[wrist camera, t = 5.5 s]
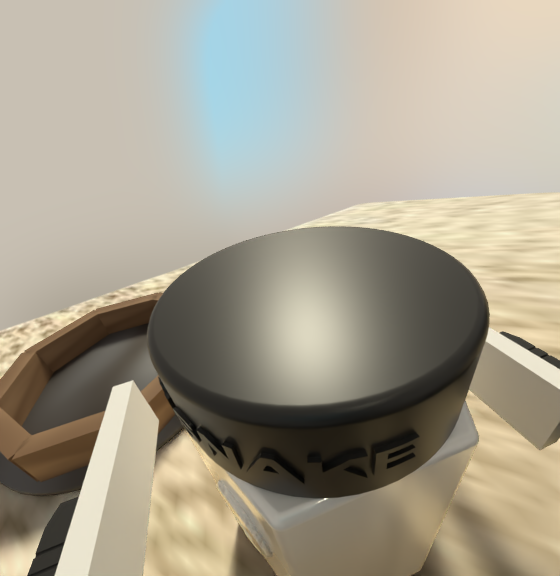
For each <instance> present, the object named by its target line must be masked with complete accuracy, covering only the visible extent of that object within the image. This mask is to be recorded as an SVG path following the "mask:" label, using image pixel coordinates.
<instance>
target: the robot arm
mask: <svg viewBox="0 0 560 576" xmlns="http://www.w3.org/2000/svg"><path fill="white" fill-rule="evenodd" d="M469 390H470V391H471V392H473V393H474V394H475V395H476V396H477V397H478V398H479V399H481V400H482V401H483V402H484V403H485V404H486V405H488V406H489V407H490V408H491V409H492V410H493V411H495V412H496V413H497V414H498V415H499V416H500V417H501V418H503V419H504V420H505V421H506V422H507V423H508V424H510V425H511V426H512V427H513V428H514V429H515V430H517V431H518V432H519V433H520V434H521V435H522V436H524V437H525V438H526V439H527V440H528V441H529V442H530V443H532V444H533V445H534V446H535V447H536V448H537V449H539V450H541V449H543V448H545V447H547V446H549V445H551V444H553V443H555V442H557V440H558V439H559V438H560V360H558V359H556V358H555V357H553V356H549V355H548V353H546V352H544V351H542V350H541V349H539V348H535V346H534V345H532V344H530V343H528V342H527V341H525V340H523V339H521V338H520V337H517V336H514V335H511V334H509V333H506V332H500V333H498V332H496V331H495V330H493V329H491V328H490V327H489V330H488V335H487V338H486V341H485V344H484V347H483V350H482V353H481V356H480V359H479V361H478V364H477V367H476V370H475V373H474V376H473V379H472V381H471V384H470V387H469ZM158 425H159V420H158V418H157V417H156V415H155V413H154V412H153V410H152V409H151V407H150V406H149V404H148V403H147V401H146V400H145V398H144V396H143V395H142V393H141V392H140V390H139V389H138V387H137V386H136V384H135V382H134V381H133V380H132V381H129V382H126V383H123V384H120V385H117V386H114V387H113V388H112V391H111V395H110V398H109V401H108V404H107V408H106V411H105V414H104V417H103V421H102V424H101V427H100V430H99V434H98V437H97V440H96V443H95V447H94V450H93V453H92V456H91V459H90V463H89V466H88V469H87V472H86V476H85V479H84V482H83V485H82V489H81V492H80V495H79V497H77V498H74V499H72V500H69V501H66V502H64V503H61V504H60V506H59V507H58V509H57V510H56V512H55V513H54V515H53V516H52V518H51V520H50V521H49V523H48V524H47V526H46V527H45V530H44V532H43V535H42V538H41V540H40V543H39V546H38V548H37V551H36V558H35V559H33V562H32V565H31V567H30V570H29V573H28V575H27V576H143V571H144V561H145V551H146V542H147V532H148V522H149V513H150V503H151V493H152V483H153V474H154V464H155V454H156V444H157V435H158Z"/></svg>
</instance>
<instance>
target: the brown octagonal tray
mask: <svg viewBox="0 0 560 576" xmlns="http://www.w3.org/2000/svg"><path fill="white" fill-rule="evenodd" d="M162 294H163V293H155V294H151V295H147V296H143V297H140V298H136V299H132V300H128V301H124V302H121V303H117V304H113V305H109V306H106V307H102V308H98V309H96V311H95V310H93V311H91V312H90V313H88V314H86V315H85V316H83V317H81V318H80V319H78V320H76V321H74V322H73V323H71V324H69V325H68V326H66V327H64V328H63V329H61V330H59V331H57V332H56V333H54V334H52V335H51V336H49V337H47V338H46V339H44V340H42V341H40V342H39V343H37V344H35V345H34V346H32V347H30V348H29V349H27V350H25V352H24V353H21V354H20V356H19V357H18V358H17V359H16V361H15V362H14V363H13V364H12V366H11V367H10V368H9V369H8V371H7V372H6V373H5V374H4V376H3V377H2V378H1V379H0V482H1V483H2V484H3V485H5V486H6V487H8V488H10V489H12V490H14V491H17V492H19V493H22V494H29V495H35V496H40V495H57V494H62V493H67V492H72V491H76V490H79V489H82V485H83V482H84V479H85V476H86V472H87V469H88V466H89V463H90V459H91V456H92V453H93V450H94V447H95V443H96V440H97V437H98V434H99V430H100V427H101V424H102V421H103V417H104V414H105V411H106V408H107V404H108V401H109V398H110V395H111V391H112V388H113V387H114V386H117V385H120V384H123V383H126V382H129V381H132V380H133V381H134V382H135V384H136V386H137V387H138V389H139V390H140V392H141V393H142V395H143V396H144V398H145V400H146V401H147V403H148V404H149V406H150V407H151V409H152V410H153V412H154V413H155V415H156V417H157V418H158V420H159V425H158V435H157V444H156V451H157V450H158V449H159V448H160V447H162V446H163V445H164V444H165V443H167V442H168V441H169V440H170V439H172V438H173V437H174V436H175V435H176V434H177V433H178V432H179V431H180V430H181V429H182V428H183V425H182V424H181V422H180V420H179V419H178V417H177V416H176V414H175V412H174V411H173V409H172V407H171V405H170V404H169V402H168V400H167V398H166V397H165V395H164V394H165V393H164V391H163V389H162V387H161V385H160V382H159V379H158V377H159V375H158V373H157V372H156V370H155V368H154V366H153V364H152V361H151V359H150V355H149V351H148V347H147V330H148V324H149V321H150V317H151V314H152V312H153V309H154V307H155V305H156V303H157V302H158V300H159V298H160V297H161V296H162Z"/></svg>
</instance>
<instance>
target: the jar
mask: <svg viewBox="0 0 560 576" xmlns="http://www.w3.org/2000/svg"><path fill="white" fill-rule="evenodd" d="M489 315H490V314H489V307H488V302H487V299H486V296H485V293H484V291H483V289H482V288H481V286H480V284H479V282H478V281H477V279H476V278H475V277H474V276H473V274H472V273H471V272H470V271H469V270H468V269H467V268H466V267H465V266H464V265H463V264H462V263H461V262H459V261H458V260H457V259H455V258H454V257H452V256H451V255H449V254H448V253H446V252H444V251H443V250H441V249H439V248H437V247H435V246H433V245H431V244H428V243H426V242H424V241H421V240H418V239H415V238H412V237H409V236H406V235H402V234H398V233H394V232H389V231H384V230H377V229H370V228H360V227H313V228H302V229H295V230H288V231H282V232H277V233H273V234H268V235H264V236H260V237H256V238H253V239H250V240H246V241H244V242H241V243H238V244H235V245H233V246H230V247H228V248H225V249H223V250H221V251H219V252H216V253H214V254H212V255H211V256H209V257H207V258H205V259H203V260H202V261H200V262H198V263H197V264H195V265H194V266H192V267H191V268H189V269H188V270H187V271H185V272H184V273H183V274H182V275H180V276H179V277H178V278H177V279H176V280H175V281H174V282H173V283H172V284H171V285H170V286H169V287H168V288H167V289H166V290H165V292H164V293H163V294H162V296H161V297H160V298H159V300H158V302H157V303H156V305H155V307H154V309H153V312H152V314H151V317H150V321H149V324H148V330H147V347H148V351H149V355H150V359H151V361H152V364H153V366H154V368H155V370H156V372H157V373H158V375H159V377H158V379H159V382H160V385H161V387H162V389H163V391H164V393H165V394H164V395H165V397H166V398H167V400H168V402H169V404H170V405H171V407H172V409H173V411H174V412H175V414H176V416H177V417H178V419H179V420H180V422H181V424H182V425H183V427H184V428H185V430H186V432H187V434H188V435H189V437H190V439H191V441H192V442H193V444H194V446H195V447H196V449H197V451H198V453H199V454H200V456H201V458H202V460H203V461H204V463H205V465H206V467H207V468H208V470H209V472H210V474H211V475H212V477H213V479H214V481H215V482H216V484H217V486H216V487H217V490H218V491H219V493H220V495H221V496H222V498H223V499H224V501H225V502H226V505H227V507H228V508H230V509H231V511H232V513H233V514H234V516H235V518H236V520H237V522H238V523H239V525H240V526H241V527H242V528H243V530H244V533H245V534H246V536H247V537H248V539H249V540H250V541H251V543H252V544H253V545H254V546H255V547H256V549H257V550H258V551H259V552H260V553H261V554H262V555H263V557H264V558H265V559H266V561H267V562H268V563H269V565H270V566H271V568H272V569H273V570H274V572H275V573H276V574H277V576H411V575H413V574H415V573H417V572H418V571H420V570H421V568H422V566H423V564H424V562H425V560H426V558H427V555H428V553H429V551H430V549H431V547H432V544H433V542H434V540H435V538H436V535H437V533H438V531H439V529H440V527H441V524H442V522H443V520H444V518H445V515H446V513H447V511H448V509H449V507H450V504H451V502H452V500H453V498H454V496H455V493H456V491H457V489H458V487H459V484H460V482H461V480H462V478H463V476H464V473H465V471H466V469H467V467H468V465H469V462H470V460H471V458H472V456H473V453H474V451H475V449H476V447H477V445H478V442H479V435H478V431H477V429H476V426H475V424H474V421H473V419H472V416H471V414H470V411H469V409H468V406H467V403H466V401H465V399H466V396H467V393H468V390H469V387H470V384H471V381H472V379H473V376H474V373H475V370H476V367H477V364H478V361H479V359H480V356H481V353H482V350H483V347H484V344H485V341H486V338H487V335H488V330H489Z"/></svg>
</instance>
